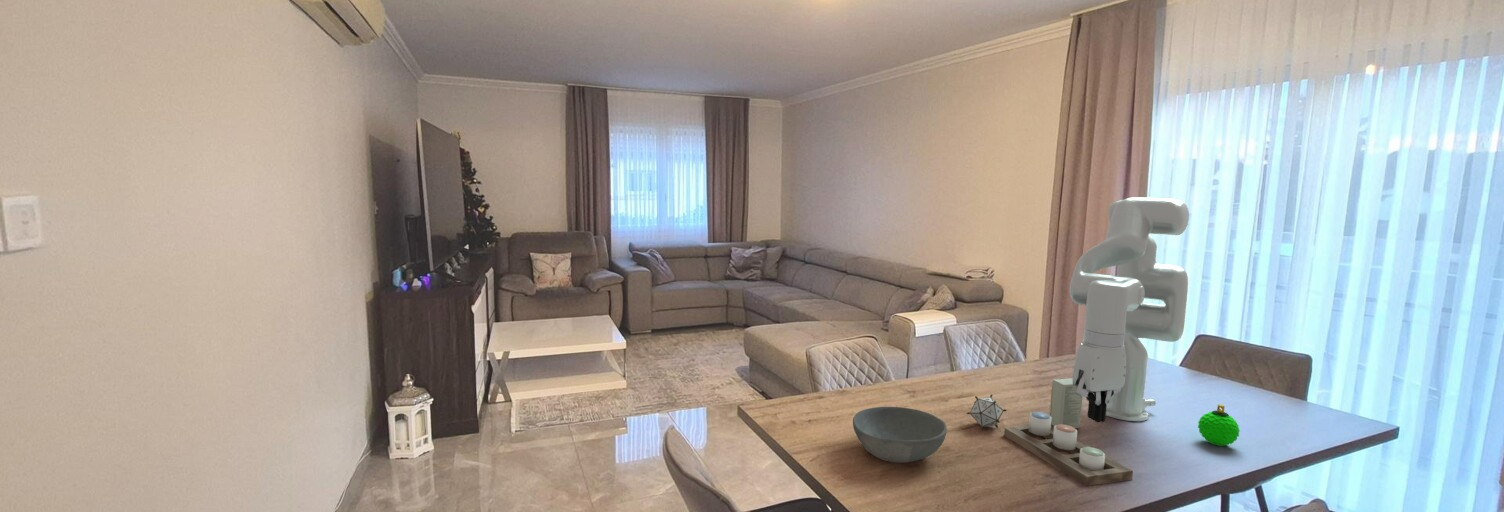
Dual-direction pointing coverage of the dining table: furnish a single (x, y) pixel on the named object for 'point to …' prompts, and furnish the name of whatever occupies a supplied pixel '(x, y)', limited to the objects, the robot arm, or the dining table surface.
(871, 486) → the dining table surface
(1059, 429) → the small jar
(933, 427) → the bowl
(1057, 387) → the skincare box
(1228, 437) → the ornament
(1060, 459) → the rack with square compartments
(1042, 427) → the small jar
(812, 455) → the dining table surface
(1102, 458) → the white round cylinder
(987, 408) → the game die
